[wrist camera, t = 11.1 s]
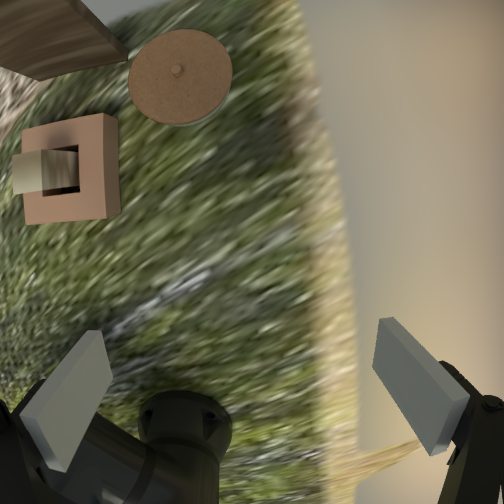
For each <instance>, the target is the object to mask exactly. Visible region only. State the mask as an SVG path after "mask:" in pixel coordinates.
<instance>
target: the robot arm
mask: <svg viewBox="0 0 504 504" xmlns="http://www.w3.org/2000/svg"><path fill="white" fill-rule="evenodd" d="M372 367H373V369H374V370H375V372H376V373H377V375H378V376H379V378H380V379H381V381H382V382H383V384H384V385H385V387H386V388H387V390H388V392H389V393H390V395H391V396H392V398H393V399H394V401H395V402H396V404H397V405H398V407H399V409H400V410H401V412H402V413H403V415H404V416H405V418H406V419H407V421H408V422H409V424H410V426H411V427H412V429H413V430H414V432H415V434H416V435H417V437H418V438H419V440H420V442H421V443H422V445H423V446H424V448H425V450H426V451H427V453H428V454H429V456H433V455H436V454H439V453H441V452H444V451H446V450H447V448H448V446H449V444H450V442H451V440H452V441H453V442H454V444H455V445H456V447H455V449H454V451H453V453H452V455H451V457H450V459H449V461H448V463H447V465H449V464H450V465H449V469H448V472H447V476H446V479H445V482H444V485H443V488H442V491H441V495H440V498H439V501H438V504H497V503H498V498H499V492H500V485H501V489H502V498H503V504H504V402H503V401H502V400H501V399H500V398H498V397H496V396H492V395H484V396H482V395H481V394H480V393H479V392H478V391H477V390H476V389H475V388H474V386H473V385H472V384H471V383H470V382H469V381H468V380H467V379H465V378H464V376H463V375H462V374H459V371H458V370H457V369H456V368H455V367H454V366H452V365H450V364H449V363H447V362H445V361H439V362H438V361H437V360H436V359H435V358H434V357H433V356H432V355H431V354H430V353H429V352H428V351H427V350H426V349H425V348H424V347H423V346H422V345H421V344H420V343H419V342H418V341H417V340H416V339H415V338H414V337H413V336H412V335H411V334H410V333H409V332H408V331H407V330H406V329H405V328H404V327H403V326H402V325H401V324H400V323H399V322H398V321H397V320H396V319H395V318H394V317H390V318H382V319H379V325H378V333H377V340H376V347H375V353H374V359H373V366H372ZM112 380H113V375H112V371H111V368H110V364H109V360H108V356H107V352H106V348H105V344H104V340H103V336H102V332H101V331H96V330H87V331H86V333H85V334H84V335H83V336H82V337H81V338H80V340H79V341H78V342H77V343H76V344H75V346H74V347H73V348H72V349H71V350H70V352H69V353H68V354H67V355H66V356H65V358H64V359H63V360H62V361H61V362H60V364H59V365H58V366H57V367H56V369H55V370H54V371H53V372H52V374H51V375H50V376H49V377H48V378H47V379H42V380H40V381H39V382H37V383H36V384H34V385H33V387H32V388H31V389H30V390H29V393H27V394H26V395H25V397H24V399H22V400H21V402H20V403H19V404H18V405H17V407H16V408H15V409H14V410H13V412H12V413H11V414H10V412H9V410H8V408H7V406H6V404H5V402H4V401H3V400H1V399H0V504H219V466H220V463H221V461H222V459H223V457H224V455H225V453H226V451H227V449H228V447H229V445H230V442H231V438H232V423H231V420H230V417H229V415H228V414H227V412H226V411H225V410H224V409H223V408H222V407H221V406H220V405H219V404H218V403H216V402H215V401H213V400H212V399H210V398H208V397H206V396H203V395H200V394H197V393H194V392H189V391H166V392H162V393H159V394H156V395H154V396H152V397H151V398H150V399H148V400H147V401H146V402H145V404H144V405H143V407H142V409H141V412H140V415H139V418H138V431H139V439H140V440H139V439H137V438H135V437H134V436H132V435H130V434H129V433H127V432H126V431H124V430H123V429H121V428H120V427H118V426H117V425H115V424H114V423H112V422H111V421H109V420H108V419H106V418H105V417H103V416H102V415H101V414H99V413H98V412H96V410H97V408H98V406H99V405H100V403H101V401H102V399H103V397H104V395H105V393H106V391H107V389H108V387H109V386H110V384H111V382H112Z"/></svg>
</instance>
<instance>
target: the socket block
mask: <svg viewBox="0 0 504 504" xmlns="http://www.w3.org/2000/svg"><path fill="white" fill-rule="evenodd" d="M40 149H45V150H58V151H71V150H78V149H79V179H80V192H72V193H64V194H62V189H61V188H56V189H48V190H41V191H34V192H28V193H23V197H24V210H25V220H26V225H31V224H42V223H54V222H66V221H79V220H92V219H106V218H109V217H112V216H114V215H117V214H120V213H121V204H120V187H119V160H118V119H117V118H114V117H112V116H110V115H107V114H105V113H99V114H94V115H88V116H83V117H78V118H73V119H68V120H63V121H59V122H54V123H50V124H46V125H41V126H37V127H33V128H29V129H26V130H22V153H26V152H31V151H35V150H40Z"/></svg>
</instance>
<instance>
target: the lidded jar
mask: <svg viewBox="0 0 504 504" xmlns="http://www.w3.org/2000/svg"><path fill="white" fill-rule="evenodd" d="M232 71H233V69H232V62H231V59H230V56H229V54H228V52H227V50H226V49H225V47H224V46H223V45H222V44H221V42H219V41H218V40H217V39H216V38H214V37H213V36H211V35H209V34H207V33H204V32H202V31H198V30H192V29H181V30H174V31H170V32H167V33H164V34H161V35H160V36H158V37H156V38H154V39H153V40H151V41H150V42H148V43H147V44H146V45H145V46H144V47H143V48H142V49H141V50H140V52H139V53H138V54H137V56H136V57H135V59H134V61H133V63H132V65H131V68H130V71H129V76H128V87H129V93H130V96H131V99H132V101H133V103H134V104H135V106H136V107H137V108H138V110H139V111H141V112H142V113H143V114H144V115H145V116H147V117H148V118H150V119H152V120H154V121H156V122H159V123H162V124H165V125H169V126H177V127H184V126H191V125H195V124H198V123H201V122H203V121H205V120H207V119H208V118H210V117H211V116H213V115H214V114H215V113H216V112H217V111H218V110H219V109H220V108H221V106H222V105H223V104H224V102H225V100H226V98H227V96H228V93H229V91H230V86H231V82H232Z"/></svg>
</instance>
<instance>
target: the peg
mask: <svg viewBox="0 0 504 504" xmlns="http://www.w3.org/2000/svg"><path fill="white" fill-rule="evenodd" d="M12 174H13V194H14V195H15V194H21V193H28V192H34V191H41V190H48V189H56V188H63V187H71V186H79V185H80V179H79V152H70V151H58V150H45V149H40V150H35V151H31V152H26V153H22V154H17V155H13V156H12Z"/></svg>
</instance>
